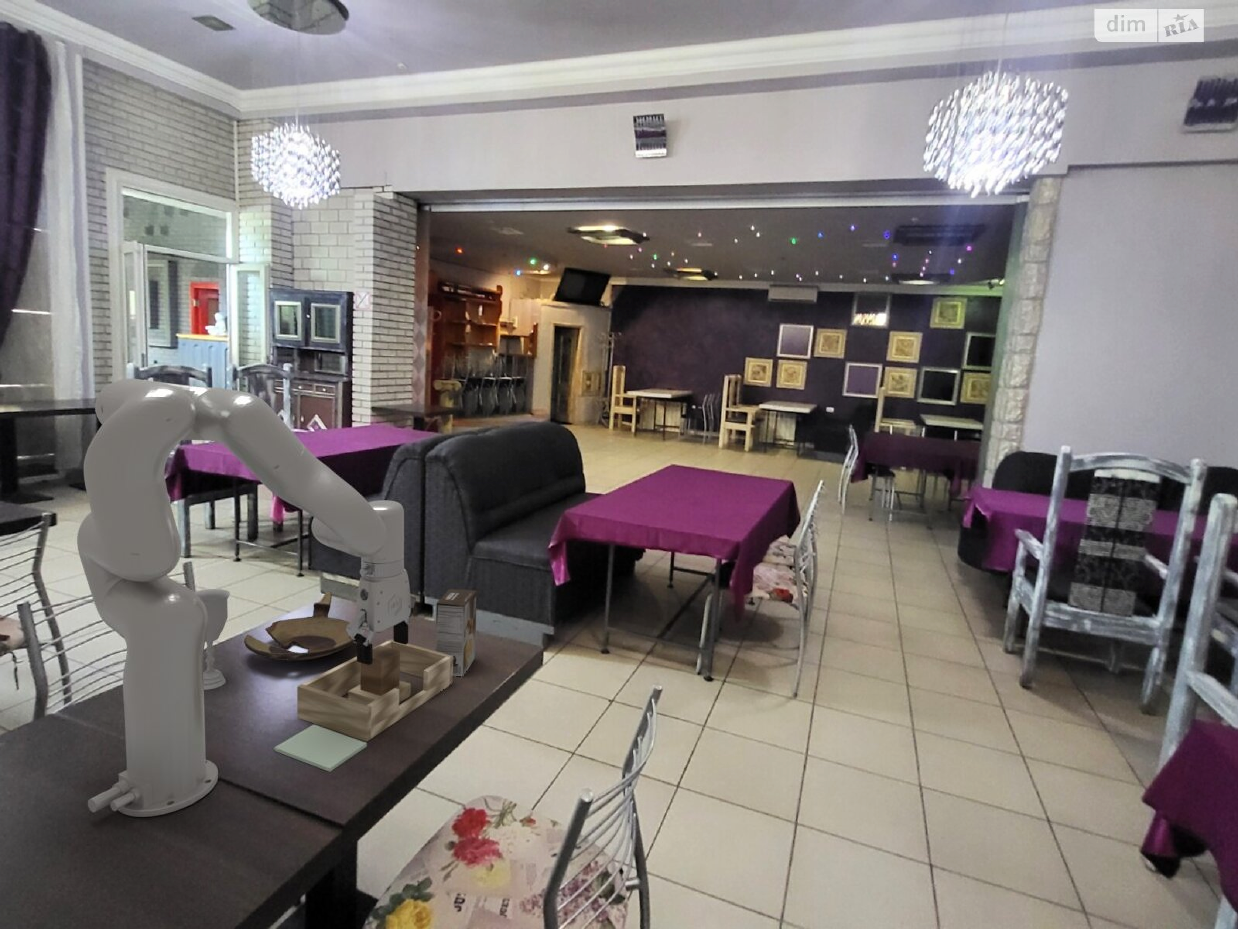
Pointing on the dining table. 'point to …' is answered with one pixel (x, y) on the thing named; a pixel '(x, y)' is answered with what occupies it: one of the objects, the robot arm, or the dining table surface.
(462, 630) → the coffee box
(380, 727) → the crate
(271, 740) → the dining table surface
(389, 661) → the block
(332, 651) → the broken brown bowl
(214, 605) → the chalice
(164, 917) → the dining table surface
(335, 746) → the mat
